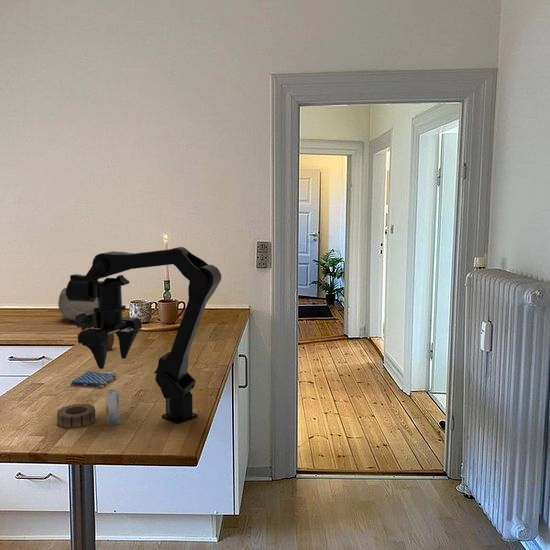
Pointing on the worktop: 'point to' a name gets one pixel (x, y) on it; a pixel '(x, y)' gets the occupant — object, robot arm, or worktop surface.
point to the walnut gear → (76, 415)
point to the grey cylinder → (113, 407)
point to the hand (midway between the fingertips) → (112, 363)
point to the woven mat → (94, 379)
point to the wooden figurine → (110, 340)
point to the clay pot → (75, 306)
